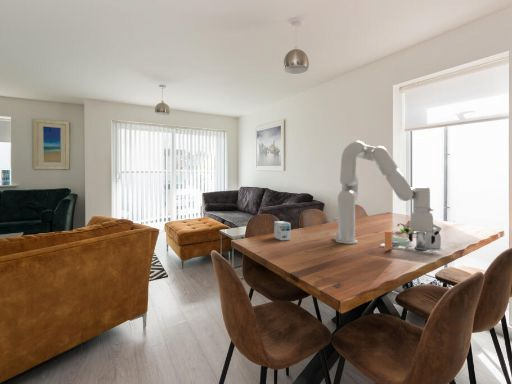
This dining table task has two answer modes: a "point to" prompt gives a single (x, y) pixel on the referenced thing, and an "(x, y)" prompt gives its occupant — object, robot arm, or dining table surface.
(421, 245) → the grey rounded piece
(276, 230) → the light bulb box
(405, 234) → the plant
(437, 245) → the grey white box
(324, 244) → the dining table surface
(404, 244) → the dock
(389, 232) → the pin
